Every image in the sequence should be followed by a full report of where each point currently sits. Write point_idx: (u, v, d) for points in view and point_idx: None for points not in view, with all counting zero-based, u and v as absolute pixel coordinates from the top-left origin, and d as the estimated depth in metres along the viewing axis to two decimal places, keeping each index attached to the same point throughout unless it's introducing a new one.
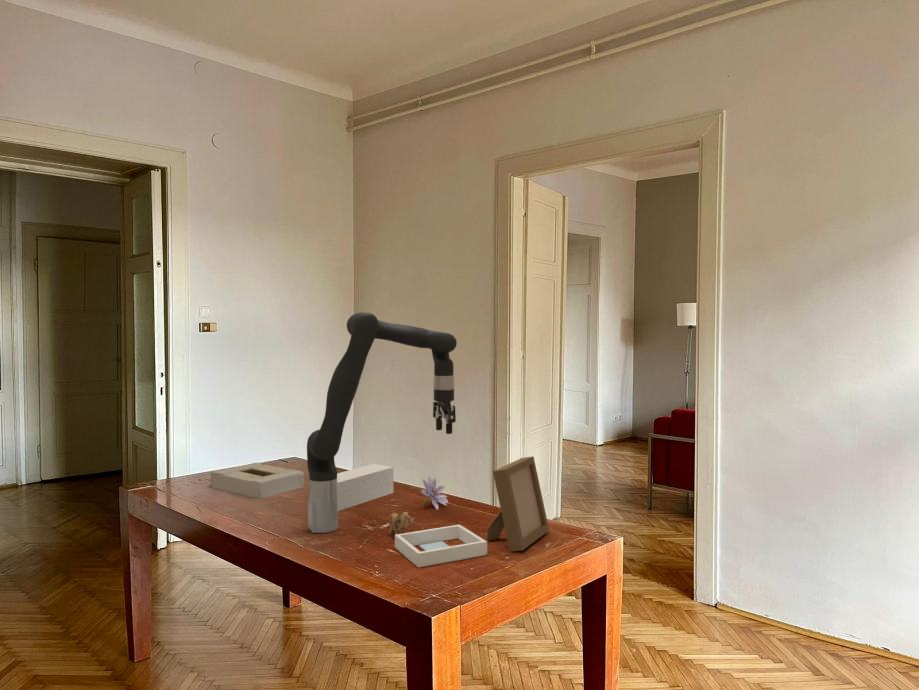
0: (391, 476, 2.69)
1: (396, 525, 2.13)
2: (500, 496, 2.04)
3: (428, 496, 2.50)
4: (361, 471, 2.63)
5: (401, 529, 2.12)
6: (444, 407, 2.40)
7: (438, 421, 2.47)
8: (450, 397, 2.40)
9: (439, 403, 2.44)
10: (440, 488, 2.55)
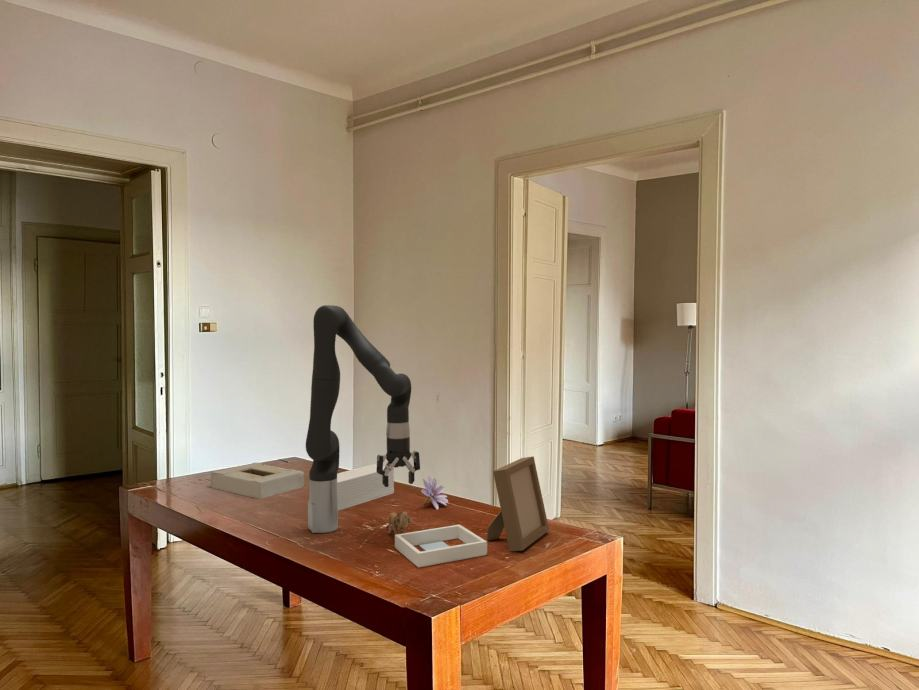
0: (391, 476, 2.69)
1: (395, 524, 2.13)
2: (500, 496, 2.04)
3: (428, 495, 2.50)
4: (361, 471, 2.62)
5: (400, 528, 2.13)
6: (407, 456, 2.17)
7: None
8: None
9: (395, 454, 2.15)
10: (440, 488, 2.55)
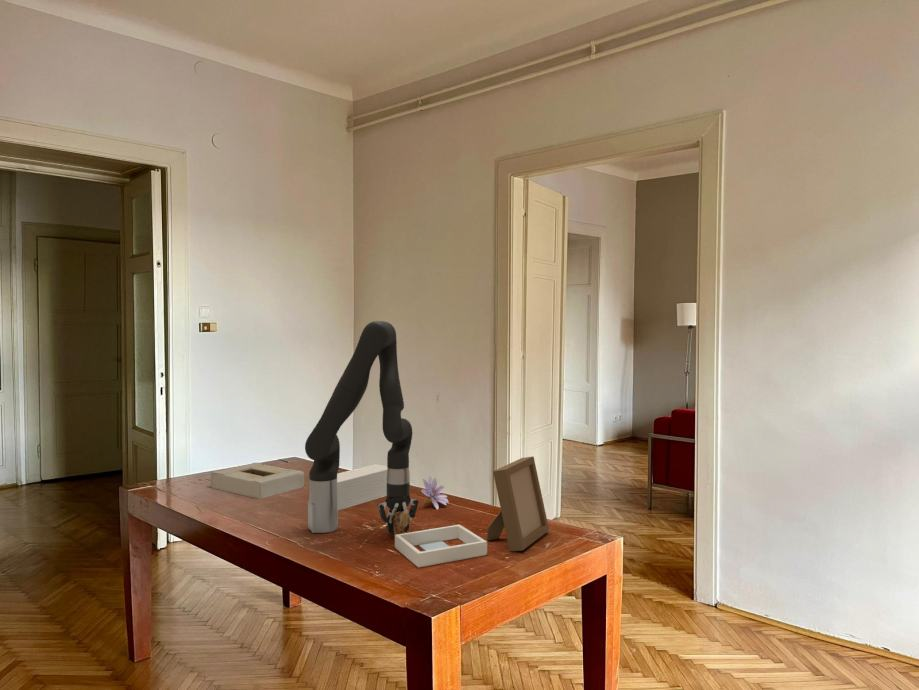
0: None
1: (395, 524, 2.14)
2: (500, 496, 2.04)
3: (428, 495, 2.50)
4: (361, 471, 2.62)
5: (400, 528, 2.13)
6: (407, 500, 2.17)
7: None
8: None
9: (395, 499, 2.15)
10: (440, 488, 2.55)
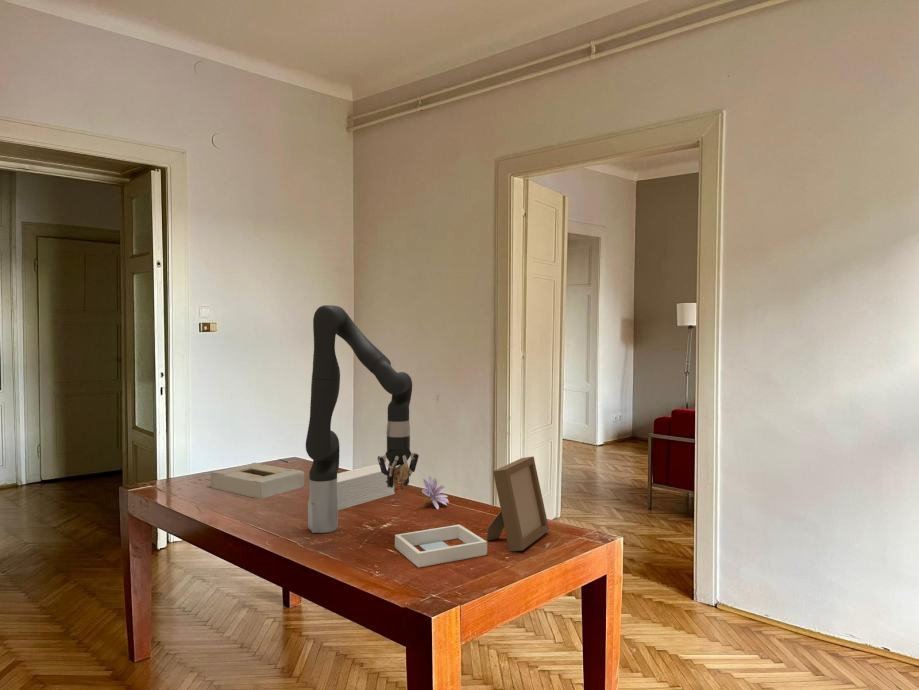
0: None
1: (395, 477, 2.13)
2: (500, 496, 2.04)
3: (428, 495, 2.50)
4: (361, 471, 2.62)
5: (400, 481, 2.13)
6: (407, 454, 2.16)
7: None
8: None
9: (395, 453, 2.15)
10: (441, 488, 2.55)
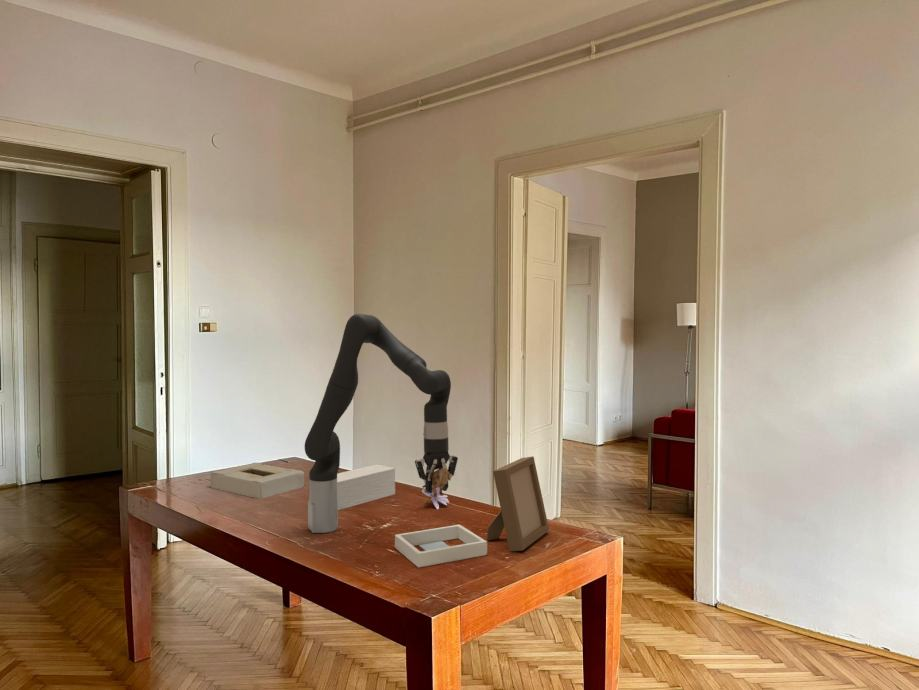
0: (393, 477, 2.68)
1: (434, 481, 2.00)
2: (500, 496, 2.04)
3: (429, 495, 2.50)
4: (361, 472, 2.62)
5: (440, 485, 2.00)
6: (445, 457, 2.04)
7: None
8: None
9: (433, 456, 2.02)
10: None
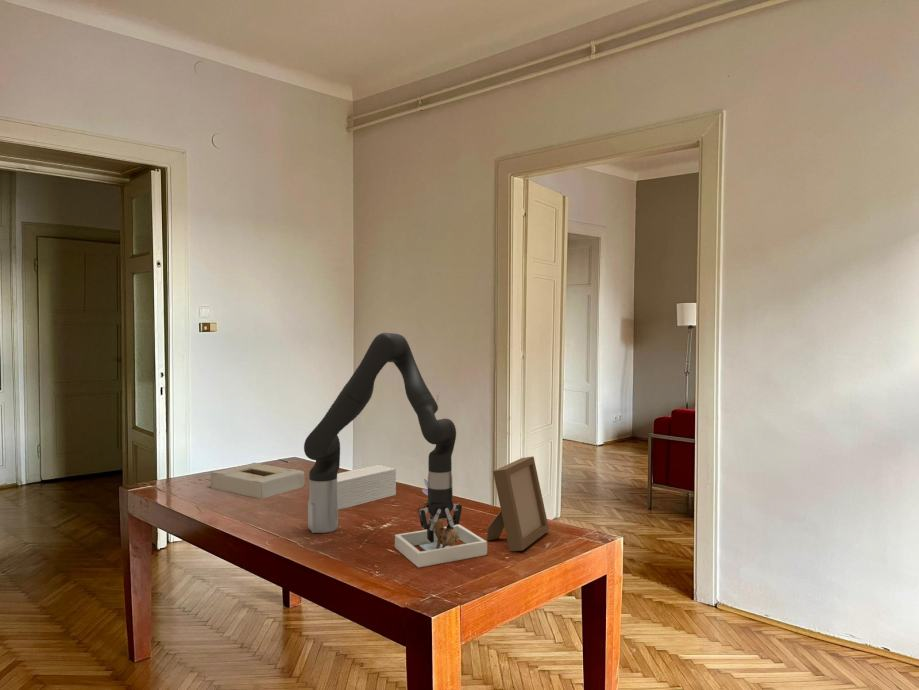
0: (393, 478, 2.67)
1: (440, 540, 1.99)
2: (500, 496, 2.04)
3: None
4: (362, 472, 2.61)
5: (444, 545, 1.99)
6: (449, 506, 2.03)
7: None
8: None
9: (437, 505, 2.01)
10: None
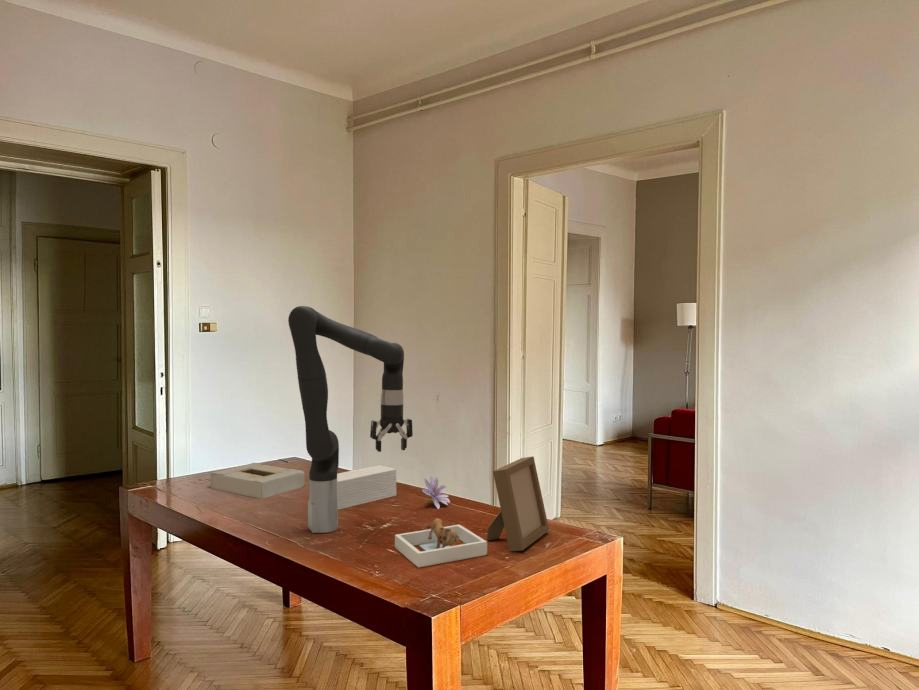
0: (394, 478, 2.66)
1: (440, 540, 1.99)
2: (500, 496, 2.04)
3: (429, 495, 2.51)
4: (362, 472, 2.61)
5: (444, 545, 1.99)
6: (400, 423, 2.24)
7: None
8: None
9: (388, 420, 2.22)
10: (442, 488, 2.56)
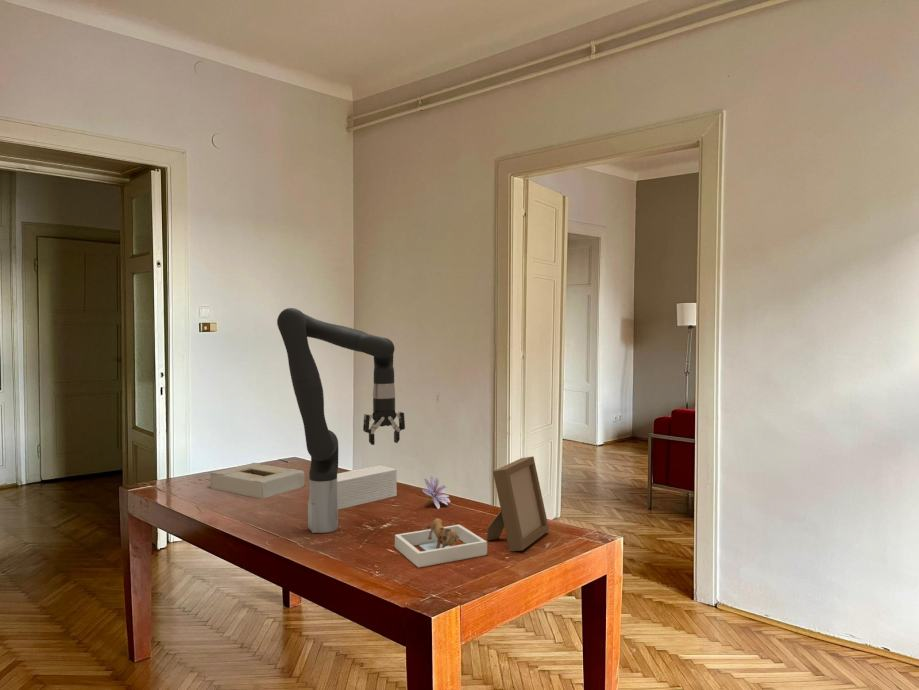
0: (394, 479, 2.65)
1: (440, 540, 1.99)
2: (500, 496, 2.04)
3: (430, 495, 2.51)
4: (362, 472, 2.61)
5: (444, 545, 1.99)
6: (393, 416, 2.28)
7: None
8: None
9: (381, 414, 2.26)
10: (442, 488, 2.56)
